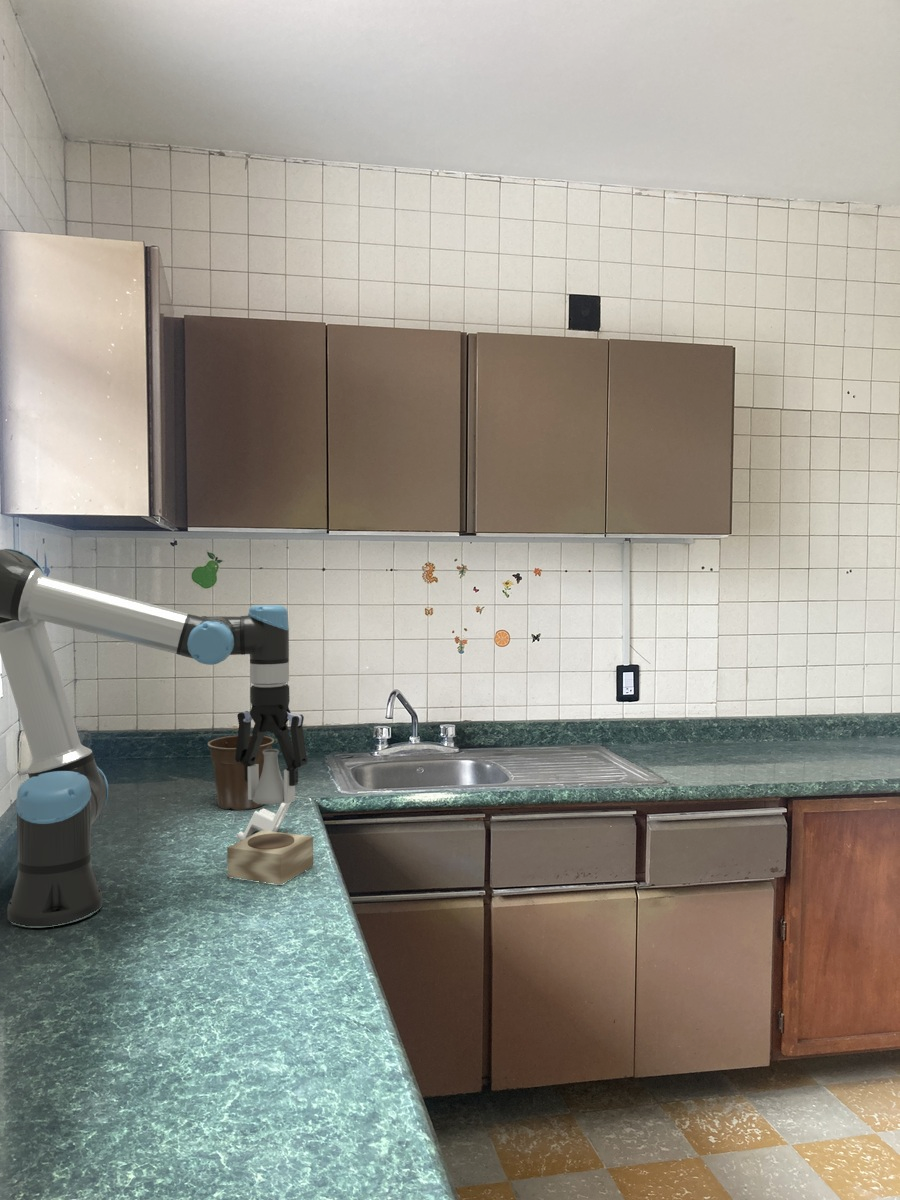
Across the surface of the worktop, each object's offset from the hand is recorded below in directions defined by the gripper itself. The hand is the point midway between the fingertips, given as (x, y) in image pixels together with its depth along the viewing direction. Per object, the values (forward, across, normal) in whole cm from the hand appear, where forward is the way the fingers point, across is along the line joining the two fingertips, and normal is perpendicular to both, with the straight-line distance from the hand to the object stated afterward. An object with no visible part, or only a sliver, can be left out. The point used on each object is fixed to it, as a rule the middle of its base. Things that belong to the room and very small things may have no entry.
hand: (271, 799), depth 176 cm
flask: (0, 0, 0) cm, 0 cm away
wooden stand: (+14, 0, 0) cm, 14 cm away
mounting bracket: (+15, +14, -19) cm, 28 cm away
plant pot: (+15, +34, -40) cm, 55 cm away
